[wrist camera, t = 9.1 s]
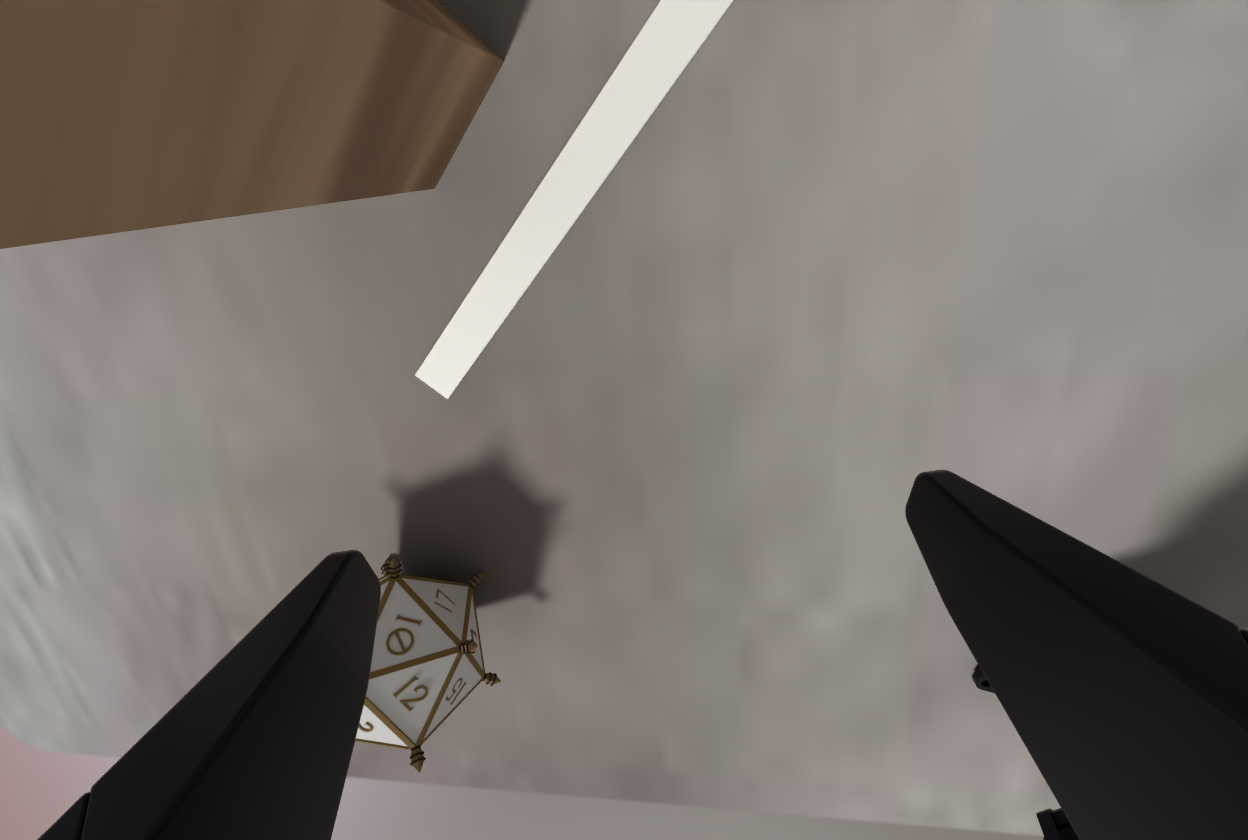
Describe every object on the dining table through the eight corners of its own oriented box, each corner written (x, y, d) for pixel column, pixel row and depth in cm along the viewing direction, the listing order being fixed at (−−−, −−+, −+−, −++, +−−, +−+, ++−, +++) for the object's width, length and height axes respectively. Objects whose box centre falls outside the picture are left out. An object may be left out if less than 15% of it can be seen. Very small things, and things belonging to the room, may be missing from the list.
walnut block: (503, 61, 16) (-98, -229, 4) (434, 188, 18) (-106, 263, 6) (372, -58, 15) (-1006, -961, 3) (314, 91, 17) (-640, -65, 5)
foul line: (725, -98, 13) (725, -99, 13) (768, -49, 14) (768, -50, 14) (415, 374, 21) (414, 375, 21) (448, 398, 21) (447, 399, 21)
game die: (449, 559, 31) (291, 702, 26) (404, 478, 25) (181, 647, 20) (556, 656, 27) (396, 846, 22) (535, 591, 21) (303, 837, 16)
